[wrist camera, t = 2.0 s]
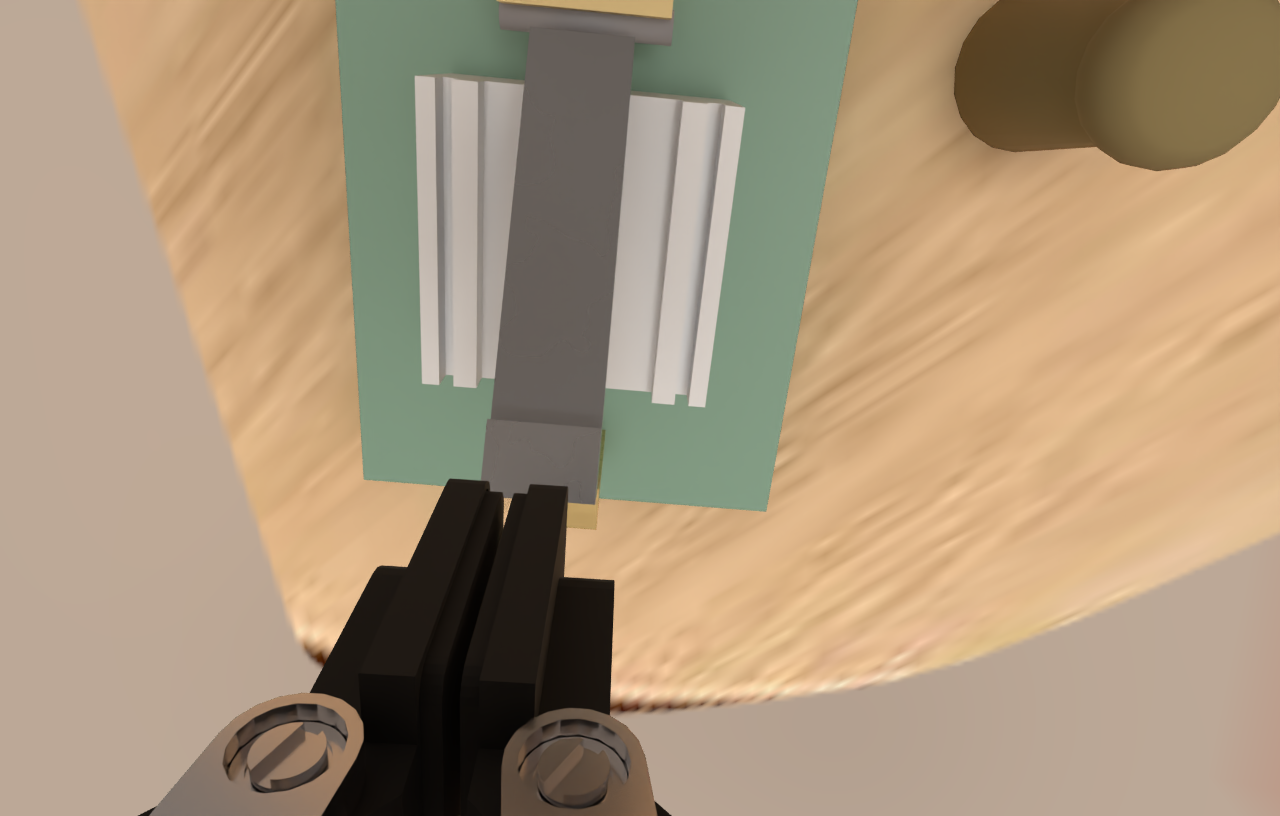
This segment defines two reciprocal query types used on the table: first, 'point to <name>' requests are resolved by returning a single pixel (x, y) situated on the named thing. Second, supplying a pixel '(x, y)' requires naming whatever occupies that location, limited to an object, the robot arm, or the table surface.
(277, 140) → the table surface
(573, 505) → the lug
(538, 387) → the strap
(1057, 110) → the cork
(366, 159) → the board
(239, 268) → the table surface
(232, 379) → the table surface
